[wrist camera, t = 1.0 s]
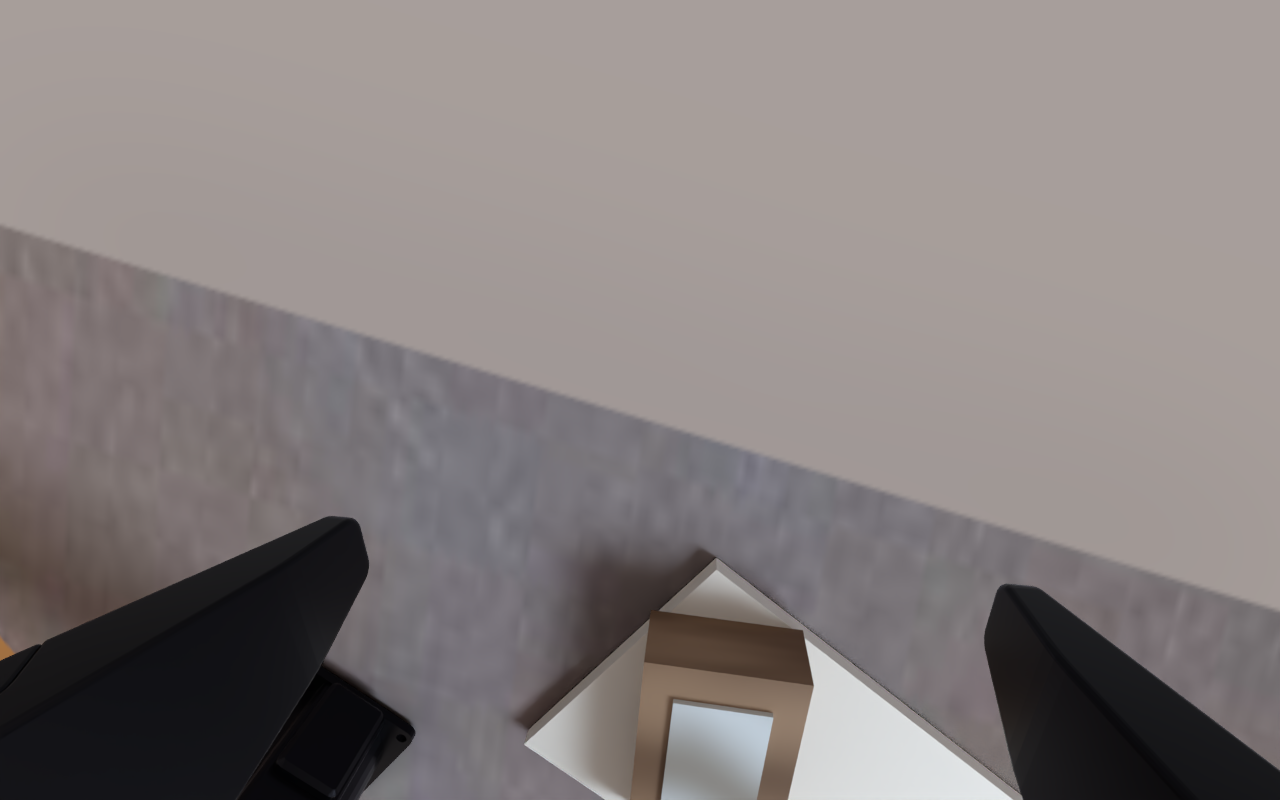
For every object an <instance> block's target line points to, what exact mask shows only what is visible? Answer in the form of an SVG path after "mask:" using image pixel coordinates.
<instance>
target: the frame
mask: <svg viewBox="0 0 1280 800" xmlns="http://www.w3.org/2000/svg"><path fill="white" fill-rule="evenodd" d="M813 688H814V683H813V678H812V673H811V668H810V663H809V658H808V653H807V648H806V643H805V638H804V633H803V630H798V629H790V628H783V627H775V626H768V625H760V624H753V623H745V622H738V621H730V620H723V619H715V618H708V617H700V616H693V615H685V614H678V613H670V612H663V611H655V610H651V613H650V621H649V628H648V636H647V643H646V650H645V658H644V667H643V677H642V687H641V697H640V707H639V717H638V727H637V736H636V746H635V756H634V766H633V776H632V786H631V796H630V800H788V797H789V792H790V788H791V784H792V779H793V775H794V771H795V766H796V762H797V758H798V753H799V749H800V745H801V740H802V736H803V732H804V727H805V723H806V719H807V714H808V710H809V706H810V701H811V697H812V693H813Z"/></svg>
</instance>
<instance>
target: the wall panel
mask: <svg viewBox="0 0 1280 800" xmlns="http://www.w3.org/2000/svg"><path fill="white" fill-rule="evenodd" d="M659 611H663V612H670V613H678V614H685V615H693V616H700V617H708V618H715V619H723V620H730V621H738V622H745V623H753V624H760V625H768V626H775V627H783V628H790V629H798V630H803V633H804V638H805V643H806V648H807V653H808V658H809V663H810V668H811V673H812V678H813V683H814V688H813V693H812V697H811V701H810V706H809V710H808V714H807V719H806V723H805V727H804V732H803V736H802V740H801V745H800V749H799V753H798V758H797V762H796V766H795V771H794V775H793V779H792V784H791V788H790V792H789V797H788V800H1023V798H1022V795H1020V794H1019V793H1018V792H1017V791H1015V790H1014V789H1013V788H1011V787H1010V786H1009V785H1008V784H1006V783H1005V782H1004V781H1002V780H1001V779H1000V778H999V777H997V776H996V775H995V774H994V773H992V772H991V771H990V770H988V769H987V768H986V767H985V766H983V765H982V764H981V763H979V762H978V761H977V760H976V759H974V758H973V757H972V756H970V755H969V754H968V753H967V752H965V751H964V750H963V749H961V748H960V747H959V746H958V745H956V744H955V743H954V742H952V741H951V740H950V739H949V738H947V737H946V736H945V735H943V734H942V733H941V732H940V731H938V730H937V729H936V728H934V727H933V726H932V725H931V724H929V723H928V722H927V721H926V720H924V719H923V718H922V717H920V716H919V715H918V714H917V713H915V712H914V711H913V710H911V709H910V708H909V707H908V706H906V705H905V704H904V703H902V702H901V701H900V700H899V699H897V698H896V697H895V696H893V695H892V694H891V693H890V692H888V691H887V690H886V689H884V688H883V687H882V686H881V685H879V684H878V683H877V682H875V681H874V680H873V679H872V678H870V677H869V676H868V675H866V674H865V673H864V672H863V671H861V670H860V669H859V668H857V667H856V666H855V665H854V664H852V663H851V662H850V661H849V660H847V659H846V658H845V657H843V656H842V655H841V654H840V653H838V652H837V651H836V650H834V649H833V648H832V647H831V646H829V645H828V644H827V643H825V642H824V641H823V640H822V639H820V638H819V637H818V636H816V635H815V634H814V633H813V632H811V631H810V630H809V629H807V628H806V627H805V626H804V625H802V624H801V623H800V622H798V621H797V620H796V619H795V618H793V617H792V616H791V615H789V614H788V613H787V612H786V611H784V610H783V609H782V608H781V607H779V606H778V605H777V604H775V603H774V602H773V601H772V600H770V599H769V598H768V597H766V596H765V595H764V594H763V593H761V592H760V591H759V590H757V589H756V588H755V587H754V586H752V585H751V584H750V583H748V582H747V581H746V580H745V579H743V578H742V577H741V576H739V575H738V574H737V573H736V572H734V571H733V570H732V569H730V568H729V567H728V566H727V565H725V564H724V563H723V562H721V561H720V560H719V559H718V558H715V559H714V560H713V561H712V562H711V563H710V564H709V565H708V566H707V567H706V568H704V569H703V570H702V571H701V572H700V573H699V574H698V575H697V576H696V577H695V578H694V579H692V580H691V581H690V582H689V583H688V584H687V585H686V586H685V587H684V588H683V589H682V590H680V591H679V592H678V593H677V594H676V595H675V596H674V597H673V598H672V599H671V600H670V601H668V602H667V603H666V604H665V605H664V606H663V607H662V608H661V609H660V610H659ZM649 621H650V619H649V620H648V621H647V622H646V623H644V624H643V625H642V626H641V627H640V628H639V629H638V630H637V631H636V632H635V633H633V634H632V635H631V636H630V637H629V638H628V639H627V640H626V641H625V642H624V643H623V644H621V645H620V646H619V647H618V648H617V649H616V650H615V651H614V652H613V653H612V654H611V655H609V656H608V657H607V658H606V659H605V660H604V661H603V662H602V663H601V664H600V665H599V666H597V667H596V668H595V669H594V670H593V671H592V672H591V673H590V674H589V675H588V676H587V677H585V678H584V679H583V680H582V681H581V682H580V683H579V684H578V685H577V686H576V687H575V688H573V689H572V690H571V691H570V692H569V693H568V694H567V695H566V696H565V697H564V698H562V699H561V700H560V701H559V702H558V703H557V704H556V705H555V706H554V707H553V708H552V709H550V710H549V711H548V712H547V713H546V714H545V715H544V716H543V717H542V718H541V719H540V720H538V721H537V722H536V723H535V724H534V725H533V726H532V727H531V728H530V729H529V730H528V733H527V736H526V739H525V742H524V745H525V746H527V747H528V748H530V749H531V750H533V751H534V752H536V753H537V754H539V755H540V756H542V757H543V758H545V759H546V760H548V761H549V762H550V763H552V764H553V765H555V766H556V767H558V768H559V769H561V770H562V771H564V772H565V773H567V774H568V775H570V776H571V777H573V778H574V779H576V780H577V781H578V782H580V783H581V784H583V785H584V786H586V787H587V788H589V789H590V790H592V791H593V792H595V793H596V794H598V795H599V796H601V797H602V798H603V799H605V800H630V796H631V786H632V776H633V766H634V756H635V746H636V736H637V727H638V717H639V707H640V697H641V687H642V677H643V667H644V658H645V650H646V643H647V636H648V628H649Z"/></svg>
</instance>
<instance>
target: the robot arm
mask: <svg viewBox="0 0 1280 800" xmlns="http://www.w3.org/2000/svg"><path fill="white" fill-rule="evenodd" d="M368 569H369V560H368V555H367V551H366V548H365V544H364V540H363V536H362V532H361V528H360V525H359V523H358V522H357V521H356V520H355V519H353V518H347V517H337V516H328V517H325V518H322V519H320V520H318V521H316V522H313V523H311V524H309V525H307V526H304V527H302V528H300V529H298V530H295V531H293V532H291V533H289V534H286V535H284V536H282V537H279V538H277V539H275V540H273V541H270V542H268V543H266V544H264V545H261V546H259V547H257V548H255V549H252V550H250V551H248V552H245V553H243V554H241V555H239V556H236V557H234V558H232V559H230V560H227V561H225V562H223V563H221V564H218V565H216V566H214V567H211V568H209V569H207V570H205V571H202V572H200V573H198V574H196V575H193V576H191V577H189V578H187V579H184V580H182V581H180V582H178V583H175V584H173V585H171V586H168V587H166V588H164V589H162V590H159V591H157V592H155V593H153V594H150V595H148V596H146V597H144V598H141V599H139V600H137V601H134V602H132V603H130V604H128V605H125V606H123V607H121V608H119V609H116V610H114V611H112V612H110V613H107V614H105V615H103V616H100V617H98V618H96V619H94V620H91V621H89V622H87V623H85V624H82V625H80V626H78V627H76V628H73V629H71V630H69V631H66V632H64V633H62V634H60V635H57V636H55V637H53V638H51V639H48V640H46V641H45V642H44V643H43V644H42V645H39V644H38V645H34V646H32V647H30V648H28V649H25V650H23V651H21V652H19V653H16V654H14V655H12V656H10V657H8V658H5V659H3V660H1V661H0V800H359V798H360V796H361V794H362V793H363V791H364V790H365V789H366V788H367V787H368V786H369V785H370V784H371V783H372V782H373V781H374V780H375V779H376V778H377V777H378V776H379V775H380V774H381V773H382V772H383V771H384V770H385V769H386V768H387V767H388V766H389V765H390V764H391V763H392V762H393V761H394V760H395V759H396V758H397V757H398V756H399V755H400V754H401V753H402V752H403V751H404V750H405V749H406V748H407V747H408V746H409V745H410V743H411V742H412V740H413V738H414V736H415V730H414V728H413V727H412V726H411V725H409V724H408V723H406V722H405V721H403V720H401V719H400V718H398V717H397V716H395V715H394V714H392V713H391V712H389V711H388V710H386V709H385V708H383V707H382V706H380V705H379V704H377V703H376V702H374V701H373V700H371V699H370V698H368V697H367V696H365V695H364V694H362V693H361V692H359V691H358V690H356V689H355V688H353V687H352V686H350V685H349V684H347V683H346V682H344V681H343V680H341V679H340V678H338V677H337V676H335V675H334V674H332V673H331V672H329V671H328V670H326V669H325V668H323V667H321V664H322V663H323V661H324V659H325V657H326V655H327V654H328V652H329V650H330V648H331V646H332V644H333V642H334V640H335V638H336V636H337V634H338V632H339V630H340V628H341V626H342V624H343V622H344V620H345V618H346V616H347V614H348V612H349V611H350V609H351V607H352V605H353V603H354V601H355V599H356V597H357V595H358V593H359V591H360V589H361V587H362V585H363V583H364V581H365V579H366V577H367V574H368ZM984 644H985V651H986V656H987V660H988V665H989V669H990V673H991V678H992V682H993V686H994V691H995V695H996V700H997V704H998V708H999V713H1000V717H1001V721H1002V726H1003V730H1004V734H1005V739H1006V743H1007V747H1008V751H1009V755H1010V759H1011V763H1012V767H1013V771H1014V774H1015V777H1016V780H1017V783H1018V786H1019V789H1020V792H1021V795H1022V798H1023V800H1280V770H1279V769H1277V768H1276V767H1275V766H1273V765H1272V764H1271V763H1269V762H1268V761H1267V760H1265V759H1264V758H1263V757H1261V756H1260V755H1259V754H1257V753H1256V752H1255V751H1253V750H1252V749H1251V748H1250V747H1248V746H1247V745H1246V744H1244V743H1243V742H1242V741H1240V740H1239V739H1238V738H1236V737H1235V736H1234V735H1232V734H1231V733H1230V732H1228V731H1227V730H1226V729H1224V728H1223V727H1222V726H1221V725H1219V724H1218V723H1217V722H1215V721H1214V720H1213V719H1211V718H1210V717H1209V716H1207V715H1206V714H1205V713H1203V712H1202V711H1201V710H1199V709H1198V708H1197V707H1195V706H1194V705H1193V704H1192V703H1190V702H1189V701H1188V700H1186V699H1185V698H1184V697H1182V696H1181V695H1180V694H1178V693H1177V692H1176V691H1174V690H1173V689H1172V688H1170V687H1169V686H1168V685H1166V684H1165V683H1164V682H1163V681H1161V680H1160V679H1159V678H1157V677H1156V676H1155V675H1153V674H1152V673H1151V672H1149V671H1148V670H1147V669H1145V668H1144V667H1143V666H1141V665H1140V664H1139V663H1137V662H1136V661H1135V660H1134V659H1132V658H1131V657H1130V656H1128V655H1127V654H1126V653H1124V652H1123V651H1122V650H1120V649H1119V648H1118V647H1116V646H1115V645H1114V644H1112V643H1111V642H1110V641H1108V640H1107V639H1106V638H1105V637H1103V636H1102V635H1101V634H1099V633H1098V632H1097V631H1095V630H1094V629H1093V628H1091V627H1090V626H1089V625H1087V624H1086V623H1085V622H1083V621H1082V620H1081V619H1079V618H1078V617H1077V616H1075V615H1074V614H1073V613H1072V612H1070V611H1069V610H1068V609H1066V608H1065V607H1064V606H1062V605H1061V604H1060V603H1058V602H1057V601H1056V600H1054V599H1053V598H1052V597H1050V596H1049V595H1048V594H1046V593H1045V592H1044V591H1042V590H1041V589H1039V588H1037V587H1034V586H1026V585H1016V584H1004V585H1002V586H1000V587H999V589H998V590H997V592H996V595H995V599H994V602H993V606H992V609H991V612H990V616H989V619H988V622H987V626H986V629H985V635H984Z"/></svg>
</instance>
